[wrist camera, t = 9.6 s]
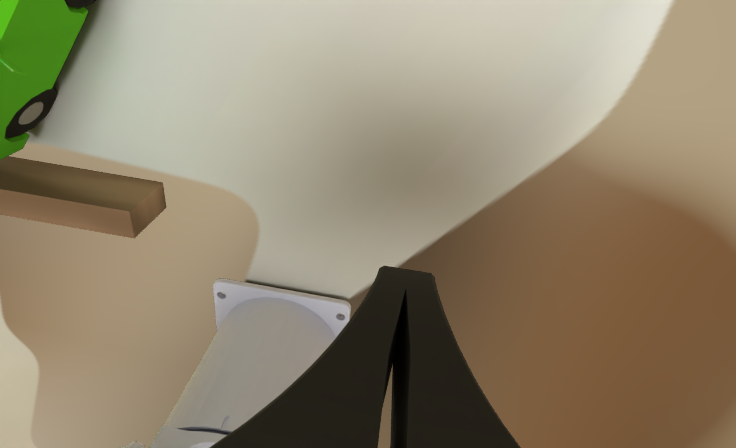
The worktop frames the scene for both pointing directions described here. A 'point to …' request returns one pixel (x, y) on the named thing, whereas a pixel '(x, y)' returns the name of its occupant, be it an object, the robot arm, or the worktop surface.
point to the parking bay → (78, 197)
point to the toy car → (32, 61)
